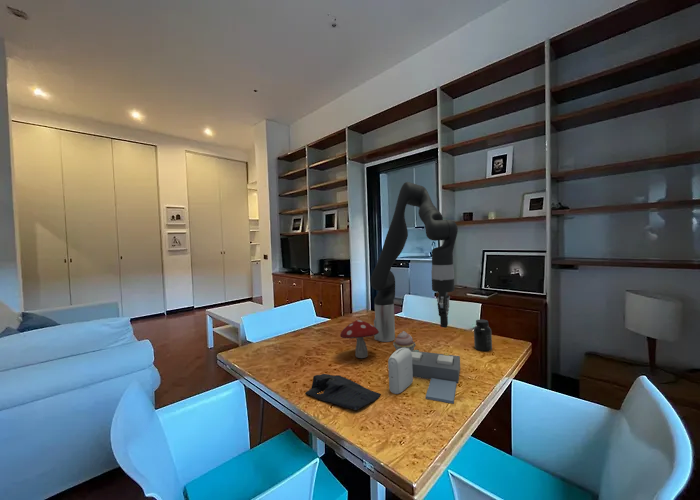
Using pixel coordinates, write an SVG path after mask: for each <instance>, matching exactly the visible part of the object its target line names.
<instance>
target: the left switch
mask: <svg viewBox="0 0 700 500" xmlns="http://www.w3.org/2000/svg"><path fill="white" fill-rule="evenodd" d="M420 352H421V351H420ZM420 352H411V353H412V360H414V361H421V359H422V353H420Z"/></svg>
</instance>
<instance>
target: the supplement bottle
mask: <svg viewBox="0 0 700 500" xmlns="http://www.w3.org/2000/svg"><path fill="white" fill-rule="evenodd" d="M492 334H493V333H492V328H491V327H490V325H489V321H488V320H487V319H477V320H475V326H474V327H473V341H474V345H473V346H474V348H475V349H474V350H477V351H479V352H491V351H492V349H493V337H492Z"/></svg>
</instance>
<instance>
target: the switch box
mask: <svg viewBox="0 0 700 500" xmlns="http://www.w3.org/2000/svg"><path fill="white" fill-rule="evenodd" d="M410 351H411V352H420V353H422V359H421V361H414V360H412V368H413V378H419V379H424V380H431V378H435V379H441V380H448V381H455V382H456V385H457V384H459V380H460V373H461V372H460V371H461V355H455V354H450V353H448V352H444V353H437V352H436V353H435V352H429V351H428V352H427V351H420V350H419V349H414V350H413V351H412V350H410ZM439 355H445V356H453V365H446V364H438V363H437V359H438V356H439Z"/></svg>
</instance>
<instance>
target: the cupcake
mask: <svg viewBox="0 0 700 500" xmlns="http://www.w3.org/2000/svg"><path fill="white" fill-rule="evenodd" d="M392 344H393V346H394V348H395V351H396V350H398V349H400V348H408V349H410V350H412V351H414V350H415V348H416V346H417V344H416V342H415V341H414V340H413V337H412V336H411V334H410V333H407V332H406V331H404V330H403V331H402V332H400V333H398V334H397V336H395V339H394V341H393V342H392Z"/></svg>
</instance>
